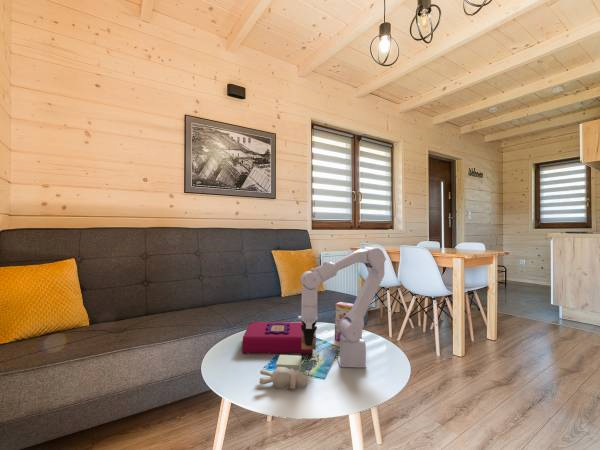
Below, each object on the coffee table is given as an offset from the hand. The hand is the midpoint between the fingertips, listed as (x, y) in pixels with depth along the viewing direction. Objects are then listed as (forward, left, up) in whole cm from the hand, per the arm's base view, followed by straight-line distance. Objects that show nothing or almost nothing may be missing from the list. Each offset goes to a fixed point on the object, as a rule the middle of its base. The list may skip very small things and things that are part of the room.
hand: (308, 342), depth 113 cm
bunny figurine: (+8, +14, -9) cm, 19 cm away
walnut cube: (0, 0, -2) cm, 2 cm away
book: (+13, -20, -9) cm, 25 cm away
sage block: (+7, +3, -9) cm, 11 cm away
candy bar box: (-17, -25, -9) cm, 32 cm away
